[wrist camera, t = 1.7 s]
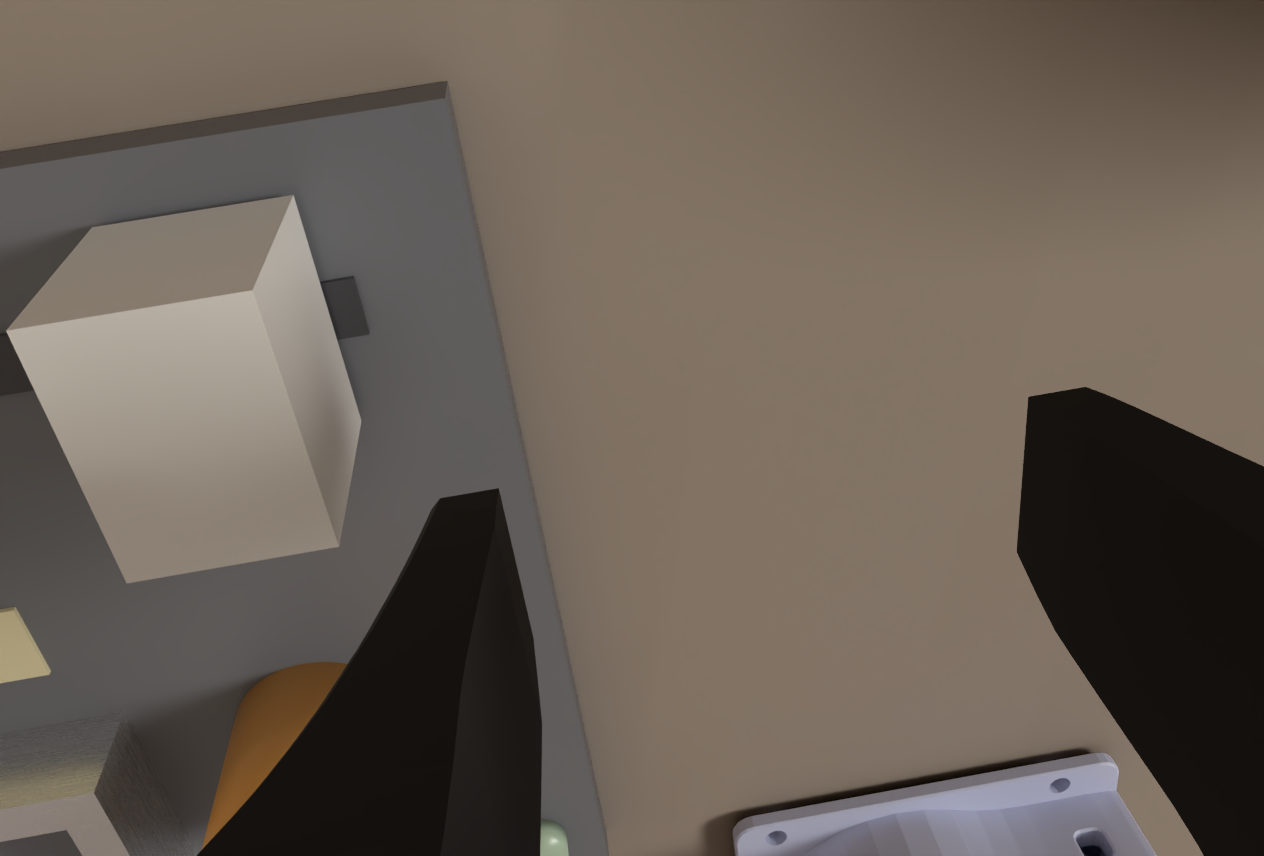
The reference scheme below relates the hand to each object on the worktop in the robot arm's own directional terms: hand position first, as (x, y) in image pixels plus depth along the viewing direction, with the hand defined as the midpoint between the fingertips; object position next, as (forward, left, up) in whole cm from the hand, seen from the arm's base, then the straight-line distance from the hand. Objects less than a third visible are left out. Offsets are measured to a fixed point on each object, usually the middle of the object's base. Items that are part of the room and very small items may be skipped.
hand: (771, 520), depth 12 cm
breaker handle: (+7, 0, -7) cm, 10 cm away
